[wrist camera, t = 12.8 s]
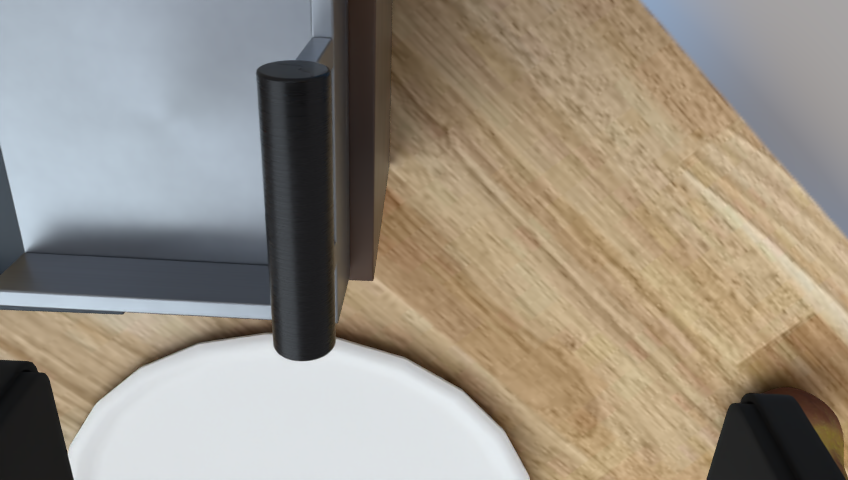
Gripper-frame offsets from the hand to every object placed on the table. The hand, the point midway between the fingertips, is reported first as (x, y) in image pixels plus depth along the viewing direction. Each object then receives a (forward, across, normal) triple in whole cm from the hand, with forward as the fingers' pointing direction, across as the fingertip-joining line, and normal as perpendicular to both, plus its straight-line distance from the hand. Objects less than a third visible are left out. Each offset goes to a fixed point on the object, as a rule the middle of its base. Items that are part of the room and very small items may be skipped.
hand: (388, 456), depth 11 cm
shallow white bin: (+15, +7, +1) cm, 17 cm away
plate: (+26, +6, +31) cm, 41 cm away
